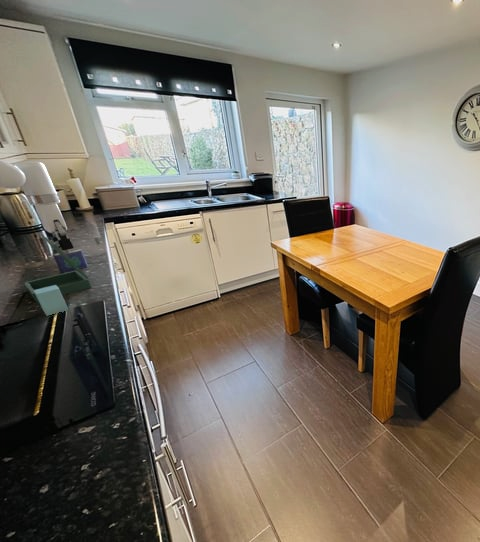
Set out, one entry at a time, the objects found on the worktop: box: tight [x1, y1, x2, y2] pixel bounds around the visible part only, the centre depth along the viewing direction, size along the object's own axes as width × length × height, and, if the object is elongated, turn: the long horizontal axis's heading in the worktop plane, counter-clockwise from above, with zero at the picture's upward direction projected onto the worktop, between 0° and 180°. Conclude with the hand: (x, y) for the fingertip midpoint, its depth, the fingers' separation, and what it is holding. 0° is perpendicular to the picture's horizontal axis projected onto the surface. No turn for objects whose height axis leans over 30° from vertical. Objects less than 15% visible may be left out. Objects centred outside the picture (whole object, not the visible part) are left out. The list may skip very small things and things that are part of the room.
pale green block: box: [33, 285, 70, 317], centre depth 93 cm, size 5×4×8 cm
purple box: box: [53, 249, 89, 274], centre depth 123 cm, size 9×3×11 cm, turn 148°
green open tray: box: [23, 270, 92, 304], centre depth 107 cm, size 15×15×4 cm
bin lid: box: [43, 236, 89, 280], centre depth 108 cm, size 16×15×5 cm
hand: (65, 247), depth 106 cm, fingers closed on bin lid, 5 cm apart
